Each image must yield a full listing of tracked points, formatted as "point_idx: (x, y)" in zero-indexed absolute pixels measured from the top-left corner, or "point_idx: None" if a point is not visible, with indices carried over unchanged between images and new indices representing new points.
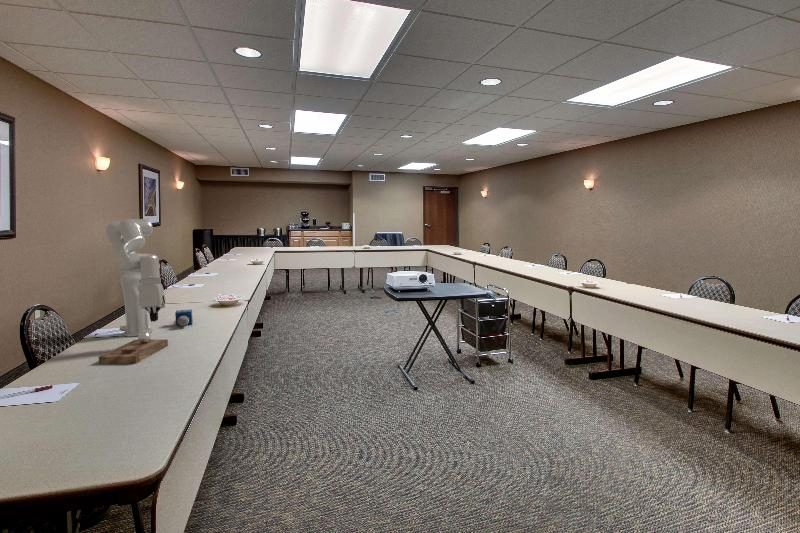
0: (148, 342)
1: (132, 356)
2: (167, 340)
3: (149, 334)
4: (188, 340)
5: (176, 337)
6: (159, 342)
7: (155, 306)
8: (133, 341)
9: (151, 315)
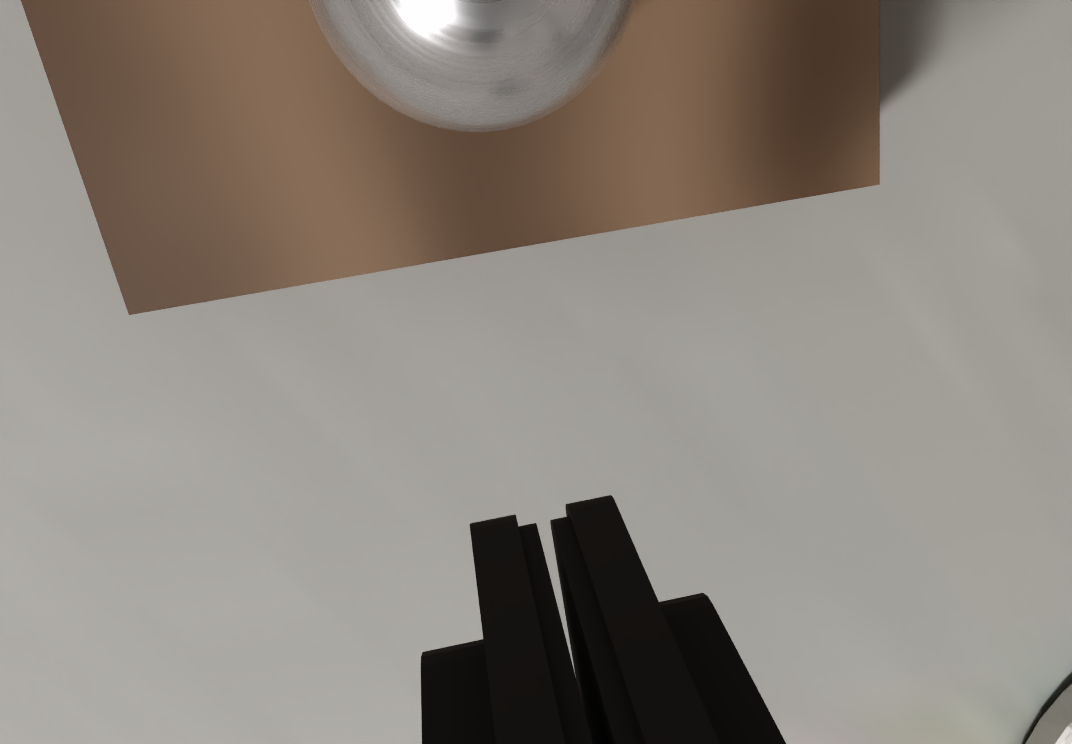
0: None
1: None
2: (131, 299)
3: (326, 1)
4: (74, 628)
5: None
6: (107, 48)
7: None
8: (827, 41)
9: (618, 686)
